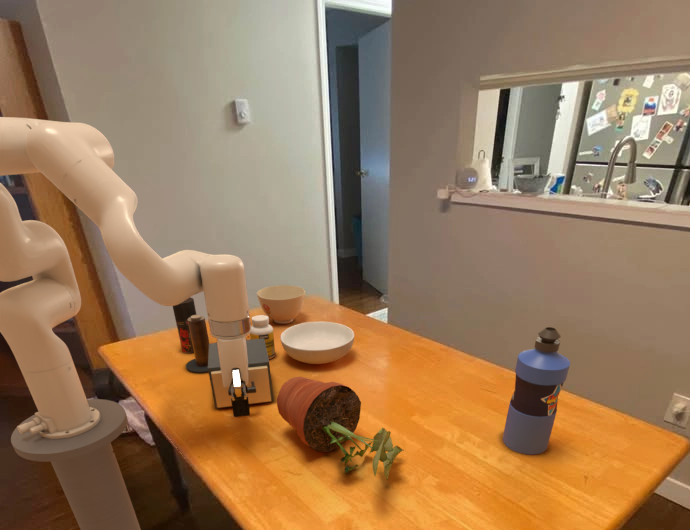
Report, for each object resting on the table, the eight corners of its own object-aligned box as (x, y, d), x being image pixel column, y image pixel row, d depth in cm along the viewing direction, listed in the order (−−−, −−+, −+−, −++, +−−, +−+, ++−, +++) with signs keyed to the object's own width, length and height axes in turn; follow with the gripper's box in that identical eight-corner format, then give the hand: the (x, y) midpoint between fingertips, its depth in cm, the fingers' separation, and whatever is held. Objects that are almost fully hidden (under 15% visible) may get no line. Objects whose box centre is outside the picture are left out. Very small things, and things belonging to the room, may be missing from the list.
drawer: (273, 410, 106) (269, 375, 101) (217, 417, 103) (210, 382, 99) (266, 376, 121) (262, 345, 116) (217, 381, 118) (211, 350, 113)
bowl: (315, 323, 157) (313, 294, 151) (271, 332, 149) (267, 302, 144) (295, 310, 168) (292, 282, 163) (253, 318, 161) (249, 289, 156)
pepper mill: (203, 368, 125) (193, 320, 118) (193, 364, 128) (183, 317, 120) (216, 362, 128) (207, 315, 121) (206, 358, 131) (197, 312, 123)
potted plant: (270, 443, 99) (382, 521, 75) (262, 377, 92) (383, 440, 68) (327, 422, 108) (444, 485, 84) (324, 360, 101) (450, 410, 78)
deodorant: (206, 349, 138) (197, 300, 130) (188, 355, 134) (177, 305, 126) (196, 344, 141) (187, 295, 133) (178, 349, 138) (167, 300, 130)
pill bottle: (255, 362, 130) (250, 323, 124) (250, 354, 135) (245, 315, 129) (278, 358, 132) (274, 319, 126) (272, 350, 137) (268, 312, 131)
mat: (202, 376, 122) (201, 374, 122) (178, 367, 127) (178, 365, 127) (231, 363, 129) (230, 361, 129) (207, 355, 134) (207, 353, 134)
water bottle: (556, 442, 97) (587, 329, 84) (534, 460, 91) (563, 343, 78) (516, 424, 102) (539, 316, 89) (493, 441, 97) (514, 328, 84)
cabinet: (273, 401, 111) (269, 361, 105) (215, 408, 108) (207, 368, 103) (268, 375, 123) (264, 338, 118) (215, 381, 120) (208, 343, 115)
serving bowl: (268, 355, 134) (265, 333, 130) (324, 337, 146) (323, 316, 142) (311, 380, 121) (310, 356, 117) (369, 357, 133) (369, 335, 129)
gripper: (210, 311, 92) (221, 386, 102) (208, 344, 78) (222, 428, 87) (248, 308, 94) (256, 382, 103) (253, 340, 80) (262, 423, 89)
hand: (240, 403), depth 95 cm, fingers open, 9 cm apart
